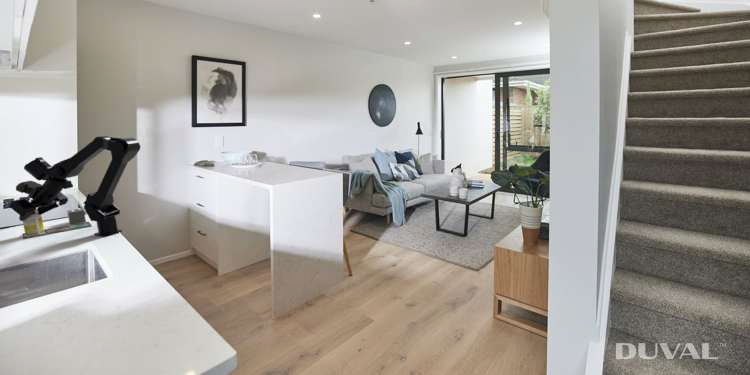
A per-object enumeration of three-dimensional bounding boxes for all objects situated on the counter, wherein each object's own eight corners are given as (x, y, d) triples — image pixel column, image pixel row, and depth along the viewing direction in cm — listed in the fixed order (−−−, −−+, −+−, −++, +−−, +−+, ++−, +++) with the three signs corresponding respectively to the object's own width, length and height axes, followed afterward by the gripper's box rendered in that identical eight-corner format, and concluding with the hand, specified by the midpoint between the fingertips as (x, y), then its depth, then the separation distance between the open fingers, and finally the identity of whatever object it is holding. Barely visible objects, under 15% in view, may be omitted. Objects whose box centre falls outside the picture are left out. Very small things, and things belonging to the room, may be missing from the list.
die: (84, 219, 158) (81, 207, 157) (85, 221, 154) (83, 209, 153) (69, 222, 154) (66, 209, 153) (70, 224, 151) (68, 211, 150)
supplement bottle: (31, 237, 135) (25, 212, 133) (22, 236, 137) (16, 211, 135) (48, 233, 140) (43, 209, 138) (39, 231, 142) (34, 208, 140)
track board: (88, 222, 153) (88, 221, 152) (91, 226, 148) (91, 225, 148) (22, 234, 139) (22, 233, 139) (23, 239, 134) (23, 237, 134)
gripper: (54, 169, 143) (32, 197, 145) (7, 178, 125) (-17, 210, 127) (78, 189, 144) (56, 216, 147) (35, 200, 126) (10, 231, 129)
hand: (28, 218), depth 137 cm, fingers open, 6 cm apart
